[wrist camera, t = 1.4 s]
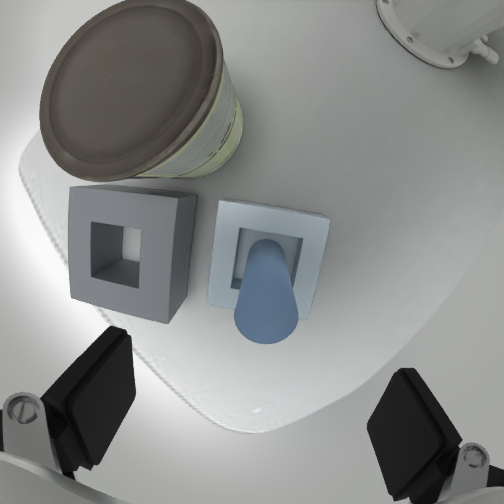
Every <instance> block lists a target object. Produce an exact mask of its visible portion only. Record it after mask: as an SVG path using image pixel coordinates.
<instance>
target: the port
mask: <svg viewBox="0 0 504 504" xmlns="http://www.w3.org/2000/svg"><path fill="white" fill-rule="evenodd" d="M197 196H198V195H196V194H189V193H181V192H173V191H164V190H155V189H146V188H137V187H127V186H116V185H90V186H76V187H70V193H69V210H68V263H69V280H70V293H71V298H73V299H76V300H79V301H83V302H86V303H89V304H92V305H96V306H99V307H103V308H106V309H110V310H113V311H117V312H120V313H124V314H128V315H132V316H136V317H140V318H144V319H148V320H152V321H156V322H160V323H164V324H169V322H170V321H171V319H172V318H173V316H174V315H175V313H176V312H177V310H178V309H179V307H180V306H181V304H182V303H183V301H184V300H185V298H186V297H187V288H188V276H189V265H190V255H191V245H192V236H193V227H194V219H195V211H196V203H197ZM123 226H124V227H131V228H137V229H142V232H141V248H140V262H135V261H130V260H125V259H122V238H123Z"/></svg>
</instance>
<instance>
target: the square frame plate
mask: <svg viewBox="0 0 504 504" xmlns="http://www.w3.org/2000/svg"><path fill="white" fill-rule="evenodd" d="M330 221H331V219H329V218H327V217H326V216H324V215H320V214H314V213H309V212H304V211H298V210H293V209H287V208H281V207H275V206H269V205H263V204H257V203H251V202H245V201H238V200H232V199H225V198H224V199H222V200H219V205H218V212H217V220H216V227H215V234H214V242H213V250H212V258H211V266H210V275H209V284H208V293H207V302H206V304H207V305H213V306H218V307H224V308H230V309H235V308H236V304H237V300H238V295H239V291H240V287H241V283H242V279H243V274H244V270H245V266H246V262H247V258H248V253H249V250H250V248H251V246H252V245H253V244H254V243H255V242H257V241H258V240H261V239H271V240H274V241H276V242H277V243H278V244H279V245H280V246H281V247H282V249H283V252H284V256H285V260H286V264H287V268H288V272H289V276H290V280H291V284H292V288H293V292H294V296H295V300H296V304H297V309H298V319H302V320H308V316H309V313H310V309H311V305H312V301H313V297H314V293H315V289H316V285H317V281H318V276H319V272H320V268H321V263H322V259H323V254H324V250H325V245H326V240H327V235H328V231H329V226H330Z"/></svg>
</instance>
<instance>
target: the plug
mask: <svg viewBox="0 0 504 504" xmlns="http://www.w3.org/2000/svg"><path fill="white" fill-rule="evenodd" d="M234 318H235V323H236V326H237V328H238V330H239V331H240V332H241V334H242V335H243V336H245V337H246V338H247V339H249V340H251V341H253V342H256V343H260V344H272V343H276V342H279V341H282V340H284V339H285V338H287V337H288V336H289V335H290V334H291V333H292V332H293V331H294V329H295V327H296V325H297V322H298V309H297V304H296V300H295V296H294V292H293V288H292V284H291V280H290V276H289V272H288V268H287V264H286V260H285V256H284V252H283V249H282V247H281V246H280V245H279V244H278V243H277V242H276V241H274V240H271V239H261V240H258V241H257V242H255V243H254V244H253V245H252V246H251V248H250V250H249V253H248V258H247V262H246V266H245V270H244V274H243V279H242V283H241V287H240V291H239V295H238V300H237V304H236V308H235V313H234Z"/></svg>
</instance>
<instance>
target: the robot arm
mask: <svg viewBox="0 0 504 504" xmlns="http://www.w3.org/2000/svg"><path fill="white" fill-rule="evenodd" d="M376 5H377V9H378V13H379V15H380V17H381V19H382V21H383V23H384V24H385V26H386V27H387V29H388V30H389V31H390V32H391V34H392V35H393V36H394V37H395V38H396V39H397V40H398V41H399V42H400V43H401V44H402V45H403V46H404V47H405V48H406V49H408V50H409V51H410V52H411V53H413V54H414V55H415V56H417V57H418V58H420V59H422V60H423V61H425V62H427V63H429V64H431V65H434V66H436V67H440V68H450V69H452V68H455V67H458V66H460V65H461V64H463V63H464V62H465V61H466V60H467V58H468V55H469V52H472V53H474V54H480V55H481V56H482V57H483V58H484V59H486V60H487V61H488V62H490V63H491V64H493V65H495V64H497V62H498V60H499V56H498V54H497V53H496V52H495V51H493V50H492V49H491V48H489V47H488V46H485V45H484V44H483V43H486V42H487V41H488V36H487V34H489V33H490V32H492V31H494V30H496V29H498V28H500V27H502V26H504V0H377V2H376ZM482 42H483V43H482ZM135 396H136V387H135V378H134V368H133V355H132V339H131V336H130V335H128V334H127V331H126V330H125V329H121V328H118V327H114V326H109V327H108V328H107V329H106V330H105V331H104V332H103V333H102V334H101V335H100V336H99V337H98V338H97V339H96V340H95V341H94V342H93V343H92V344H91V345H90V346H89V347H88V348H87V350H86V351H85V352H84V353H83V354H82V355H81V356H79V357H78V358H77V359H76V360H75V361H74V363H72V364H71V365H70V367H69V368H68V369H67V370H66V371H65V372H64V373H63V374H62V375H61V376H60V377H59V378H58V379H57V381H55V383H54V384H53V385H52V386H51V387H50V388H49V389H48V390H47V391H46V393H45V394H44V395H43V396H42V397H41V398H39V397H37V396H36V395H34V394H31V393H26V392H20V393H15V394H13V395H11V396H10V397H9V398H7V399H6V401H5V403H4V404H3V410H0V504H131V503H128V502H125V501H123V500H120V499H117V498H114V497H112V496H109V495H107V494H104V493H102V492H99V491H97V490H94V489H92V488H90V487H88V486H86V485H83V484H81V483H79V481H78V478H77V475H76V472H75V471H77V469H78V467H79V466H82V467H84V468H86V469H88V470H90V471H91V469H92V468H93V466H94V465H98V464H99V463H100V462H101V460H102V458H103V456H104V454H105V453H106V451H107V449H108V447H109V445H110V443H111V441H112V439H113V438H114V436H115V434H116V432H117V430H118V428H119V427H120V425H121V423H122V421H123V419H124V418H125V416H126V414H127V412H128V410H129V408H130V407H131V405H132V403H133V401H134V399H135ZM367 431H368V433H369V436H370V439H371V442H372V445H373V448H374V451H375V454H376V456H377V460H378V463H379V465H380V468H381V472H382V474H383V478H384V481H385V484H386V487H387V490H388V493H389V494H390V495H392V496H393V500H394V501H399V500H403V499H406V498H407V497H409V498H410V502H409V504H504V470H503V469H500V468H497V467H494V466H492V465H489V462H490V459H489V454H488V452H487V451H486V449H485V448H484V447H482V446H481V445H479V444H477V443H466V444H464V445H463V446H462V447H461V448H459V446H458V445H459V444H460V443H461V441H462V438H461V436H460V435H459V433H458V432H457V430H456V429H455V427H454V425H453V424H452V422H451V421H450V419H449V418H448V416H447V414H446V413H445V411H444V410H443V408H442V407H441V405H440V404H439V402H438V401H437V400H436V398H435V397H434V395H433V394H432V392H431V391H430V389H429V388H428V386H427V385H426V383H425V382H424V381H423V379H422V378H421V376H420V375H419V374H418V372H417V371H416V369H414V368H400V369H399V370H398V371H397V372H395V373H394V374H393V376H392V378H391V380H390V382H389V384H388V386H387V388H386V390H385V392H384V394H383V396H382V397H381V399H380V401H379V403H378V405H377V406H376V408H375V410H374V412H373V414H372V415H371V417H370V419H369V420H368V423H367Z"/></svg>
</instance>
